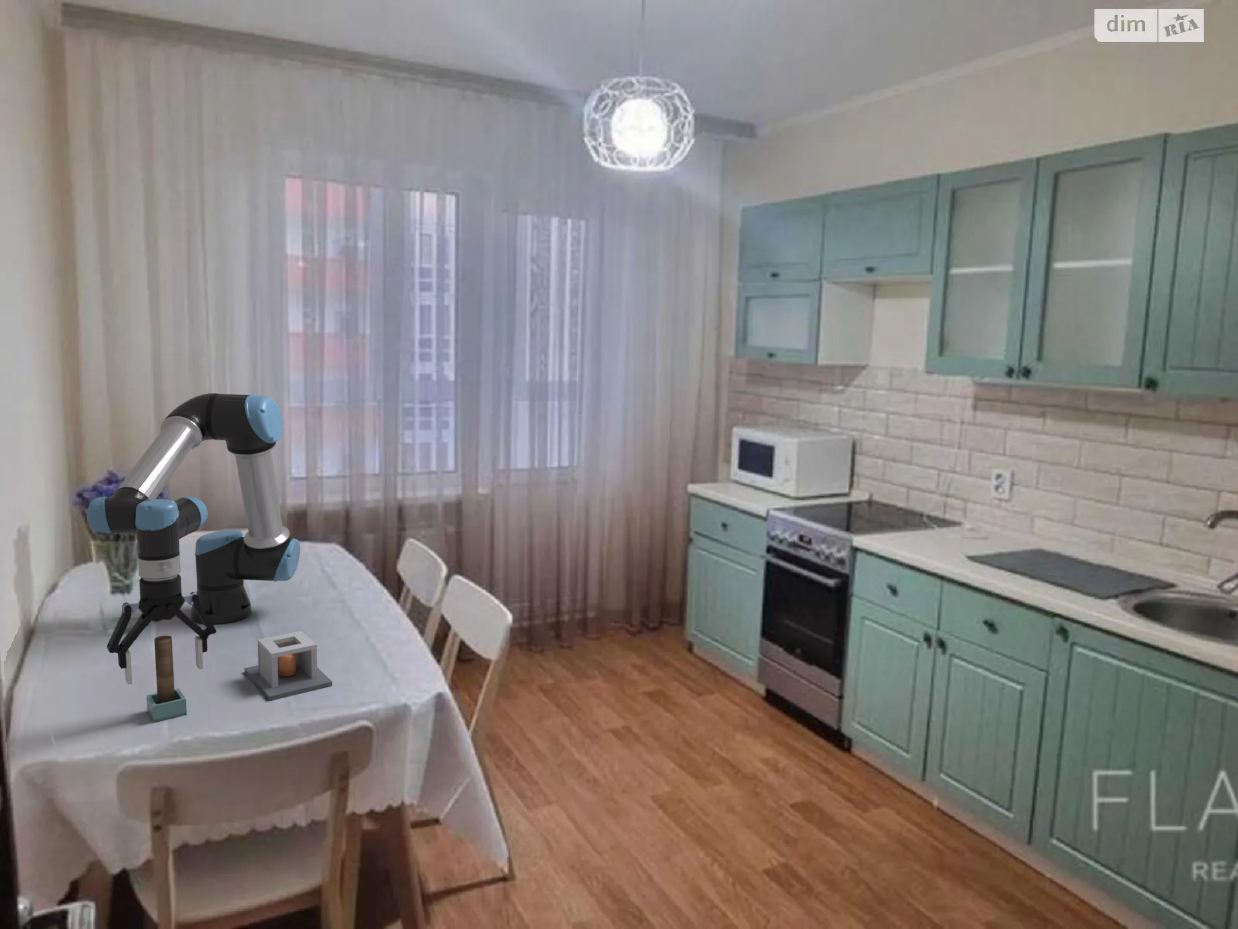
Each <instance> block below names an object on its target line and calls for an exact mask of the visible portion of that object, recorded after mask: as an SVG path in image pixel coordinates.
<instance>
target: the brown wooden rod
mask: <svg viewBox="0 0 1238 929" xmlns="http://www.w3.org/2000/svg"><path fill="white" fill-rule="evenodd" d="M153 641H154V657H155V658H154V660H155V675H156V676H155V678H156V693H157V699H158V704H160V703H165V702H169V701H174V700H175V692H174V689H175V676H174V673H175V672H174V657H173V656H174V655H173V652H174V651H173V637H172V636H171V635H166V634H165V635H160V636H157V637H155V638H154V640H153Z"/></svg>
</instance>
